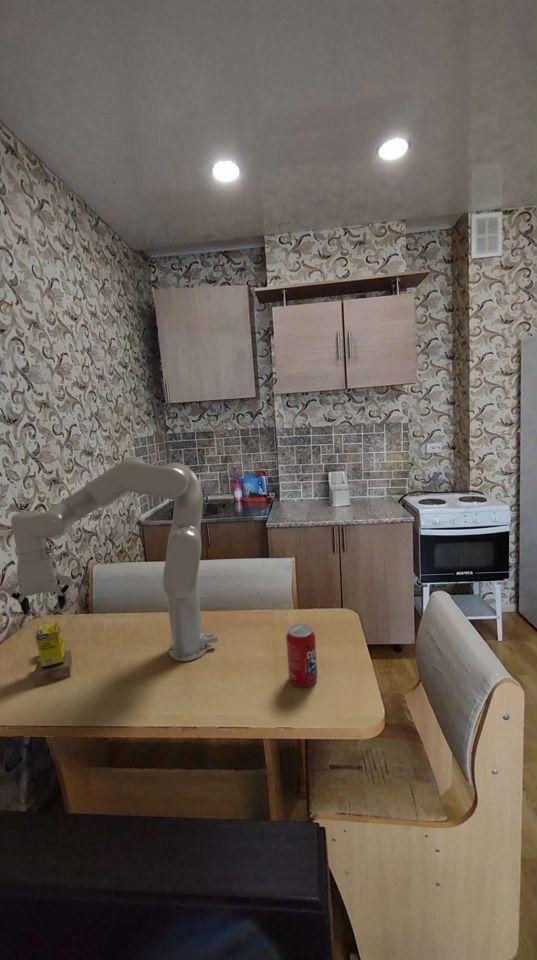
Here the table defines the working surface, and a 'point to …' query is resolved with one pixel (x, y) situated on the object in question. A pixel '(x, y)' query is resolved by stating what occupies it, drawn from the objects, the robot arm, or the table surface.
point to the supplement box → (50, 645)
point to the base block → (53, 671)
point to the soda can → (301, 655)
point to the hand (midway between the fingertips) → (45, 609)
